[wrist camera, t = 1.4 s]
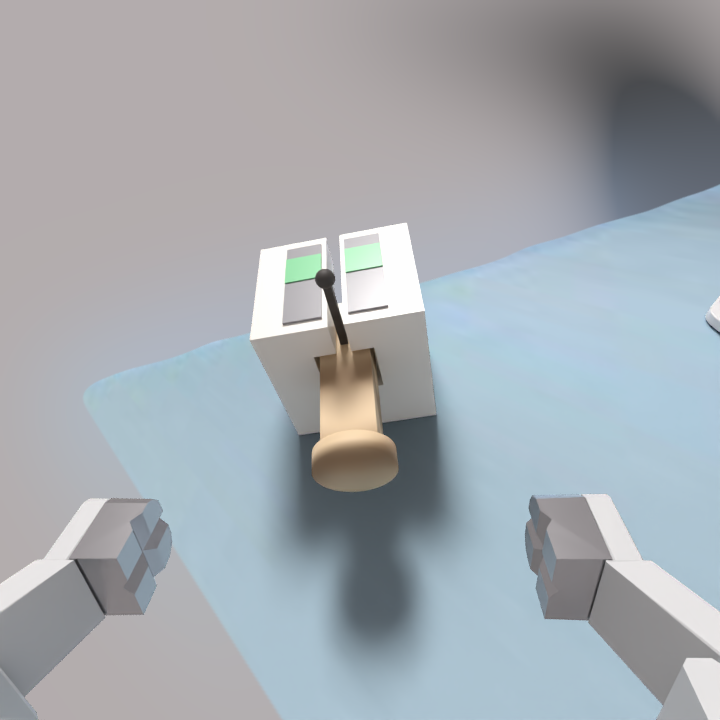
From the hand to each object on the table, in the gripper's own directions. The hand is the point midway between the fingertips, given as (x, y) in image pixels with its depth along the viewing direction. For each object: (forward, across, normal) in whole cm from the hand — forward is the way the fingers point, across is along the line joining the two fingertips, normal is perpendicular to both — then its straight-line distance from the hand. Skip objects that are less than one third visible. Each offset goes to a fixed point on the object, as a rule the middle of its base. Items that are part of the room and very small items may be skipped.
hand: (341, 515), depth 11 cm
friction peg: (+25, +2, +16) cm, 30 cm away
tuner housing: (+34, +2, +18) cm, 39 cm away
